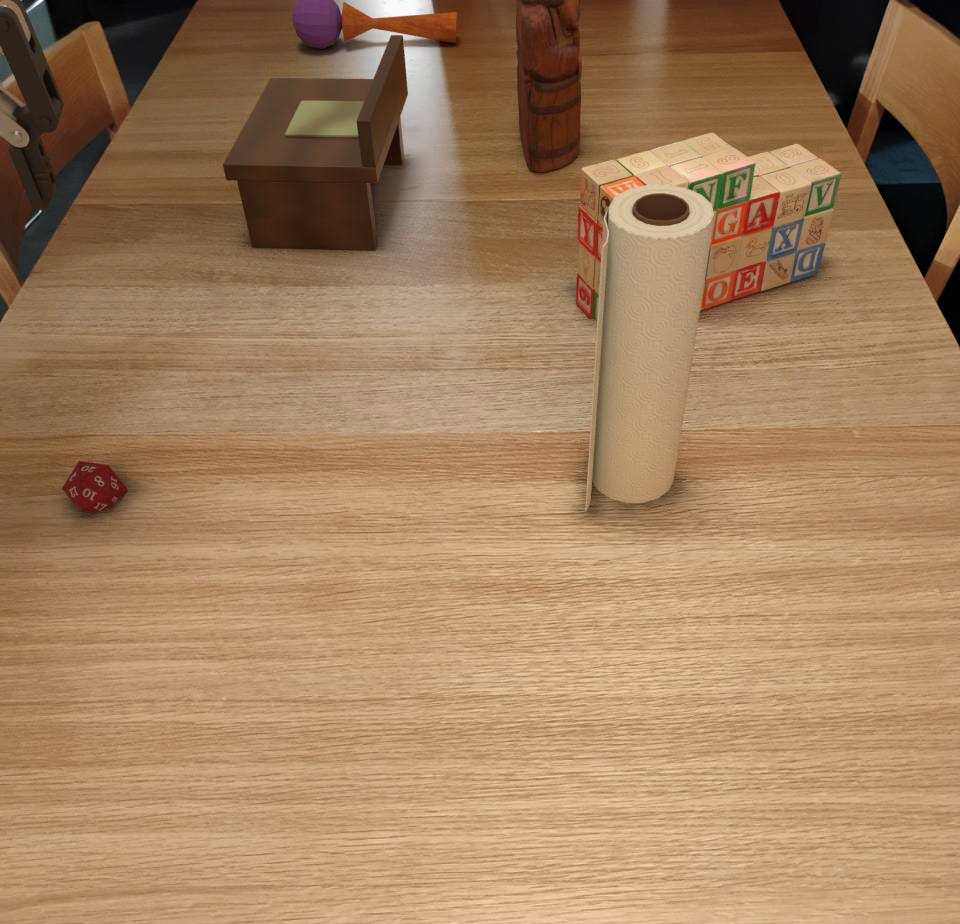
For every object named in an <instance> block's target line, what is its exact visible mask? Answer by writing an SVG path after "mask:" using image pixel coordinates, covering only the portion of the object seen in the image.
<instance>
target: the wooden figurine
mask: <svg viewBox="0 0 960 924" xmlns="http://www.w3.org/2000/svg"><path fill="white" fill-rule="evenodd" d="M515 1H516V4H515V5H516V6H515V9H516V10H515V37H516V38H515V41H516V47H517V48H516V59H517V60H516V61H517V63H516V90H517V91H516V93H517V106H518V108H517V109H518V128H519V136H520V140H521V144H522V147H523V154H524V159H525V161H526V164H527V167H528V169H529V170H531V171H533V172H535V173H545V172H549V171H553V170H557V169H561V168H563V167H565V166H567V165H569V164H571V163H572V162H574V161H575V160H576V158H577V157H578V156H579V153H580V148H581V115H582V114H581V112H582V84H581V80H582V77H583V62H582V61H583V60H582V59H583V54H582V52H581V32H580V21H581V20H580V18H581V15H582V9H581V4H580V2H581V0H515Z"/></svg>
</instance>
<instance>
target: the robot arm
mask: <svg viewBox="0 0 960 924" xmlns="http://www.w3.org/2000/svg"><path fill="white" fill-rule="evenodd" d="M0 56H3V57H4V58H5V59H6V61H7V63H8V66H9V69H10V71H11V73H12V75H13V77H14V79H15V82H16V84H17V85H18V88H19V91H20V94H21V95H22V98H23V100H24V102H25V103H23V102H22V101H21V100H20V99H19V98H18V97H17V96H15V95H14V94H13V93H12V92H10V91H9V90H8V89H7V88H6V87H4V85H3V84H2V81H1V80H0V137H1V138H2V139H4V140H5V141H7V142H8V143H9V147H8V153H9V156H10V157H11V160H12V163H13V165H14V167H15V170H16V173H17V175H18V177H19V179H20V182H21V184H22V187H23V190H24V192H25V194H26V197H27V199H28V201H29V204H30V206H31V209H32V210H33V211H34V212H36V211H47V210H48V209H49V205H50V203H51V200H52V199H53V198H54V194H55V191H56V188H57V176H56V174H55V171H54V169H53V166H52V164H51V162H50V158H49V156H48V153H47V151H46V148H45V145H44V143H43V139H42V137H41V135H43V134H45V133H53V132H55V131H56V130H57V128H58V126H59V123H60V119H61V116H62V114H63V110H64V107H65V102H64V99H63V96H62V94H61V92H60V89H59V87H58V85H57V81H56V79H55V77H54V75H53V73H52V70H51V67H50V65H49V63H48V61H47V58H46V55H45V53H44V50H43V48H42V46H41V44H40V41H39V38H38V36H37V34H36V31H35V30H34V27H33V24H32V22H31V20H30V17H29V14H28V12H27V10H26V8H25V4H24V2H23V1H22V0H0Z"/></svg>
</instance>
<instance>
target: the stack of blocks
mask: <svg viewBox="0 0 960 924" xmlns="http://www.w3.org/2000/svg"><path fill="white" fill-rule="evenodd" d="M841 177H842V172H840V171H839V170H837V169H836V168H834V167H833V166H832V165H830V164H829V163H827V162H826V161H825V160H823V158H819V157H818V156H816V155H815V154H813V153H812V152H811V151H809V150H808V149H806V148H805V147H803V146H802V144H801V145H800V144H799V143H793V144H790V145H787V146H784V147H781V148H780V147H779V148H777V149H773V150H771V151H765V152H761V153H757V154H753V155H749V156H746V154H744V153H742V152H741V151H740V150H738V149H737V148H736V147H733V146H732V145H730V144H729V143H727V142H726V141H725V140H723V139H722V138H721V136H718V135H717V134H716V133H715V132H708V133H705V134H701V135H698V136H697V135H696V136H693V137H690V138H686V139H683V140H681V141H676V142H672V143H669V144H666V145H661V146H658V147H655V148H654V147H653V148H652V149H650V150H644V151H641V152H637V153H633V154H630V155H626V156H623V157H619V158H617V159H610V160H605V161H602V162H599V163H596V164H591V165H587V166H584V167H582V168H581V169H580V186H579V187H580V188H579V189H580V190H579V191H580V192H579V205H578V208H577V234H576V237H577V262H576V264H577V266H576V268H577V269H576V271H577V272H576V284H575V286H576V288H575V304H576V305H577V306H578V308H579V309H580V310H581V311H582V313H584V314H585V316H587V317H588V319H590V320H597V317H598V301H599V285H600V269H601V253H602V238H603V222H604V216H605V214H606V212H607V210H608V207H609V206H610V204H611V202H612V201H613V199H614V198H615V196H617V195H619V194H621V193H623V192H624V191H626V190H628V189H632V188H636V187H640V186H644V185H672V186H677V187H683V188H687V189H689V190H692V191H694V192H696V193H699V194H701V195H702V196H703V197H705V198H706V199H707V200H708V201H709V202H710V203H711V204H712V208H713V212H714V223H713V229H712V236H711V242H710V249H709V255H708V262H707V268H706V275H705V281H704V288H703V294H702V300H701V307H700V312H702V311H703V310H707V309H709V308H712V307H715V306H719V305H723V304H725V303H728V302H731V301H733V300H737V299H740V298H744V297H746V296H750V295H753V294H756V293H758V292H764V291H767V290H770V289H773V288H777V287H780V286H783V285H787V284H789V283H794V282H796V281H799V280H802V279H803V280H804V279H805V278H809V277H812V276H815V275H818V273H819V270H820V266H821V263H822V259H823V255H824V251H825V248H826V241H827V240H828V237H829V236H828V235H829V232H830V230H831V229H830V228H831V225H832V221H833V220H832V219H833V216H834V211H835V209H834V206H835V202H836V199H837V194H838V190H839V186H840V181H841Z"/></svg>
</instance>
